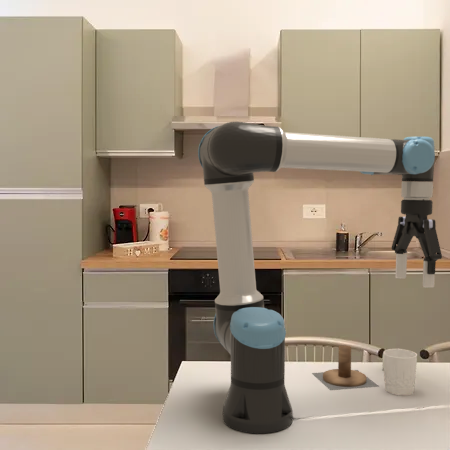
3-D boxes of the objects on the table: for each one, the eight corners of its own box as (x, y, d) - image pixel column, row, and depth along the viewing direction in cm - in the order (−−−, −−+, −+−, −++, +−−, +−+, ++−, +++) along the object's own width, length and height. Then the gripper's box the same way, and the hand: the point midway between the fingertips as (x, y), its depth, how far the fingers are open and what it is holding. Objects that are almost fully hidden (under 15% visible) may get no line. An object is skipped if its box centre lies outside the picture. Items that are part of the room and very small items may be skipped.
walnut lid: (332, 388, 144) (333, 354, 143) (316, 374, 155) (316, 342, 154) (373, 385, 146) (374, 351, 146) (355, 371, 157) (355, 340, 156)
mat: (330, 393, 143) (330, 390, 143) (311, 376, 156) (311, 373, 156) (379, 389, 146) (379, 386, 146) (357, 372, 158) (357, 369, 158)
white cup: (412, 388, 146) (413, 349, 146) (419, 399, 139) (420, 358, 138) (380, 387, 147) (380, 348, 147) (385, 398, 139) (386, 357, 139)
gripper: (459, 200, 136) (456, 291, 137) (405, 197, 160) (403, 274, 161) (430, 200, 134) (426, 291, 136) (380, 197, 158) (378, 275, 160)
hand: (414, 282), depth 149 cm, fingers open, 13 cm apart
